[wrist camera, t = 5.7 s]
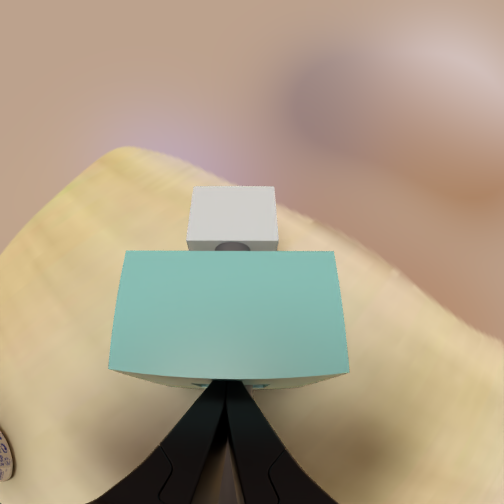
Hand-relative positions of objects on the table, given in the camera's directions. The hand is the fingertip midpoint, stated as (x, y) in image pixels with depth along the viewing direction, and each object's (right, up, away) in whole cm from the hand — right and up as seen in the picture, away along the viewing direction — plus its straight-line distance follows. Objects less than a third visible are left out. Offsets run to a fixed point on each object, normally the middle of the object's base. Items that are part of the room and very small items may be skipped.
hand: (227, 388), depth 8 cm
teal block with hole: (0, -1, +7) cm, 7 cm away
